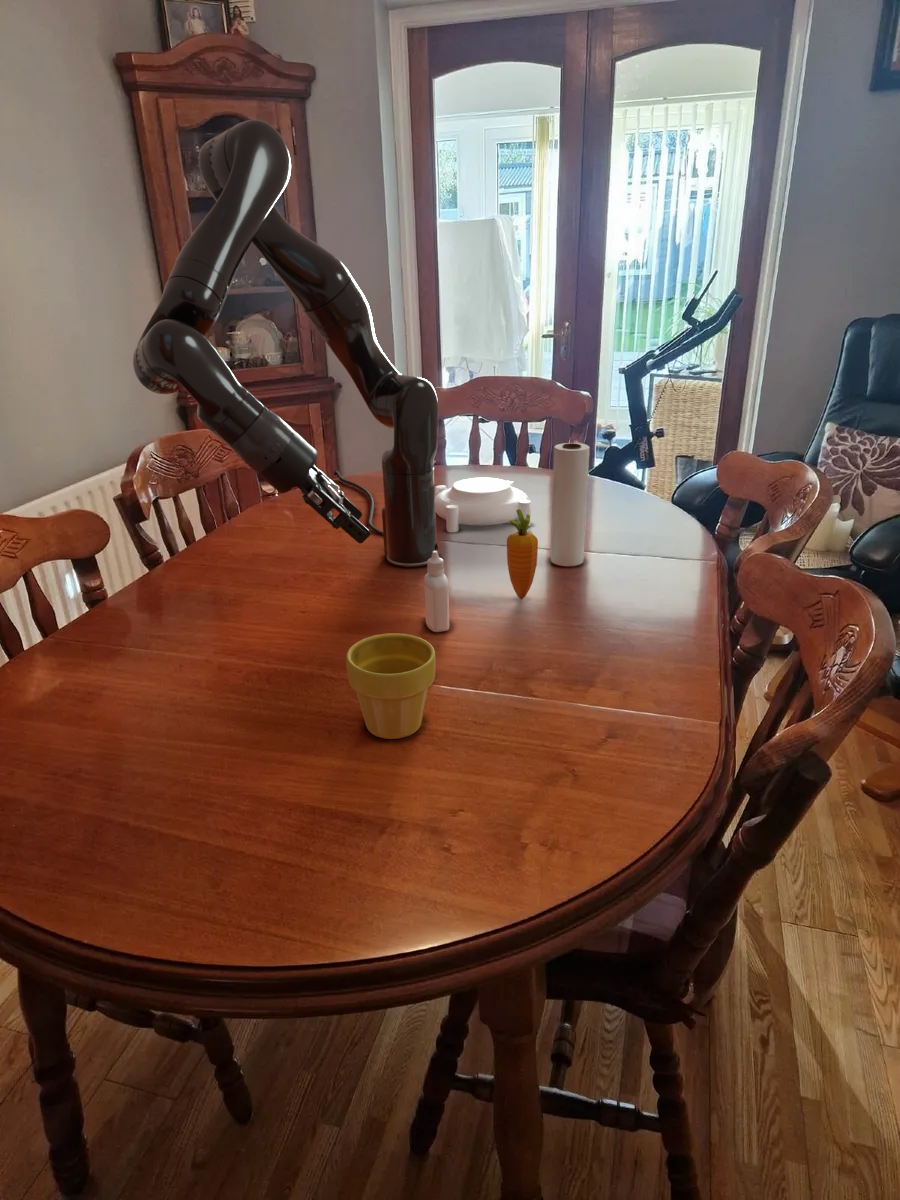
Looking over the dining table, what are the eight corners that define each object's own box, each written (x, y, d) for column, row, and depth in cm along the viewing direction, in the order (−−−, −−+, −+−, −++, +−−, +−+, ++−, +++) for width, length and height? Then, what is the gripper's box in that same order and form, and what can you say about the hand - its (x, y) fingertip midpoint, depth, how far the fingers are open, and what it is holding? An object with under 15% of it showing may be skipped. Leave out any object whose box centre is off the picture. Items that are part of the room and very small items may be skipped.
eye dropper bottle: (418, 631, 113) (415, 557, 108) (428, 616, 118) (425, 544, 113) (446, 634, 112) (444, 559, 107) (455, 618, 117) (454, 546, 112)
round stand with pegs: (467, 495, 179) (466, 465, 176) (557, 511, 166) (558, 479, 163) (403, 522, 161) (402, 490, 158) (498, 542, 148) (498, 507, 145)
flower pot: (449, 708, 94) (447, 638, 90) (419, 755, 85) (415, 680, 81) (373, 695, 97) (368, 627, 93) (336, 740, 88) (329, 666, 84)
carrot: (535, 606, 121) (537, 516, 114) (504, 604, 122) (504, 515, 115) (538, 594, 125) (540, 507, 119) (508, 592, 126) (508, 506, 120)
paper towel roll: (568, 570, 134) (574, 451, 125) (543, 561, 138) (546, 445, 130) (594, 559, 139) (601, 444, 130) (569, 551, 143) (574, 438, 134)
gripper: (254, 457, 106) (338, 531, 113) (254, 484, 93) (349, 565, 101) (290, 419, 105) (373, 495, 112) (295, 440, 92) (388, 525, 100)
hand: (361, 528), depth 106 cm, fingers open, 8 cm apart
